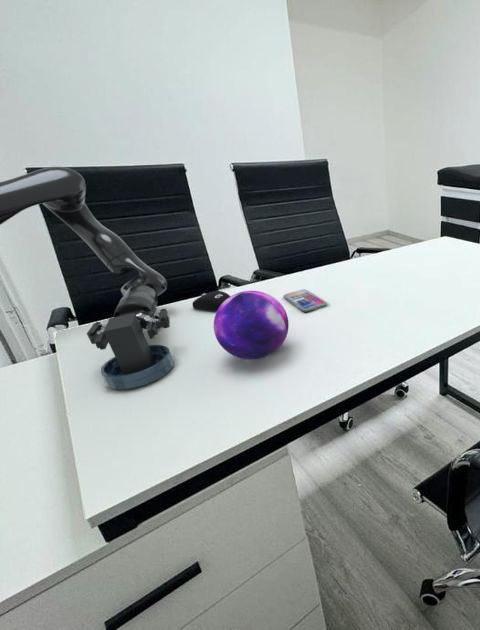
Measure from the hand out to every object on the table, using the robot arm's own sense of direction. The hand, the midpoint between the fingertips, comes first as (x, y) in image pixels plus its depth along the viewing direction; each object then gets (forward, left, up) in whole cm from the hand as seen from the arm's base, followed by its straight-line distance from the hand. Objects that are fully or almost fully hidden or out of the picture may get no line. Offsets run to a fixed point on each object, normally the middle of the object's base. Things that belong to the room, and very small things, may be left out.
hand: (126, 339), depth 79 cm
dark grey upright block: (0, 0, -8) cm, 8 cm away
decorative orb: (+24, -1, -9) cm, 26 cm away
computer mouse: (+10, +32, -9) cm, 35 cm away
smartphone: (+35, +25, -9) cm, 44 cm away
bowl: (0, 0, -9) cm, 9 cm away
